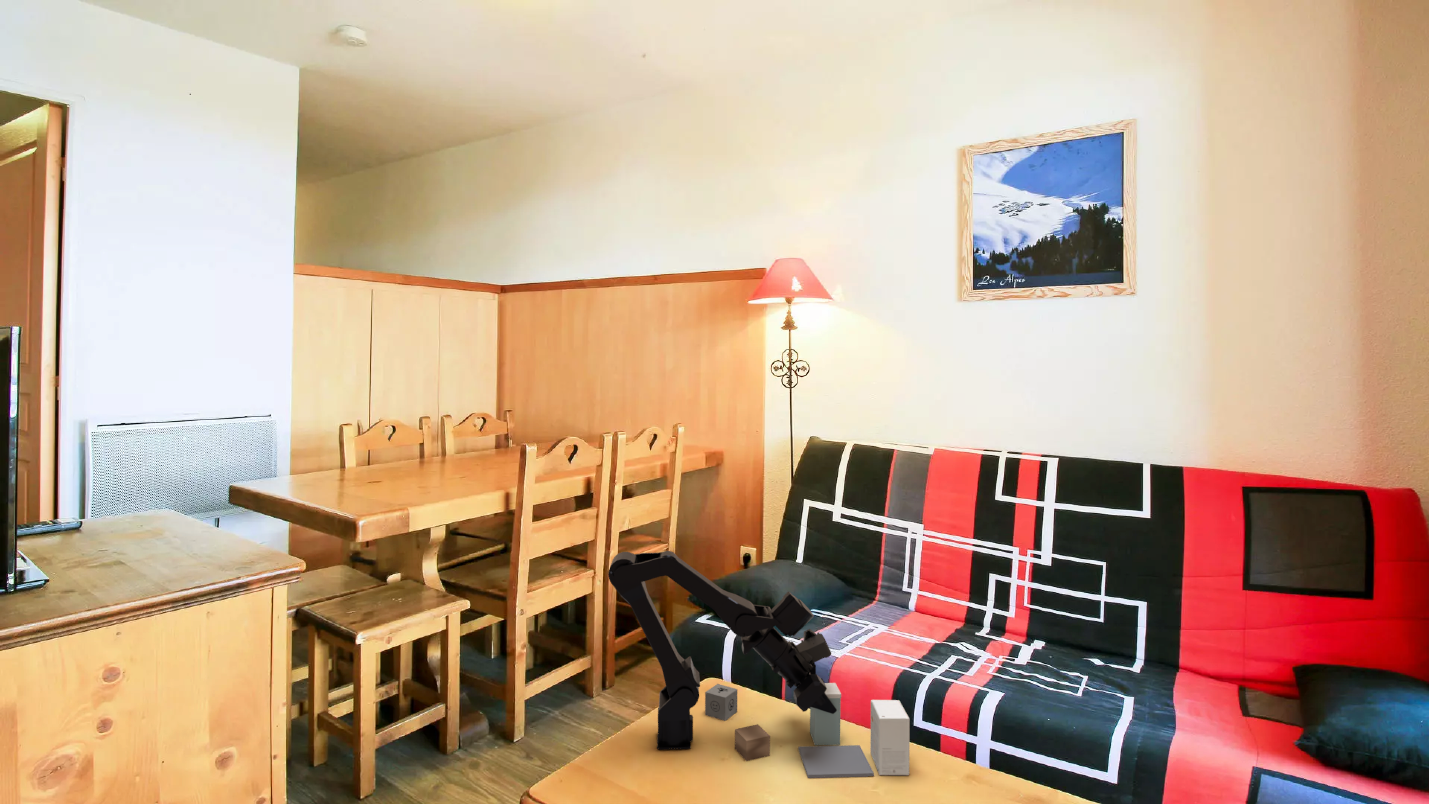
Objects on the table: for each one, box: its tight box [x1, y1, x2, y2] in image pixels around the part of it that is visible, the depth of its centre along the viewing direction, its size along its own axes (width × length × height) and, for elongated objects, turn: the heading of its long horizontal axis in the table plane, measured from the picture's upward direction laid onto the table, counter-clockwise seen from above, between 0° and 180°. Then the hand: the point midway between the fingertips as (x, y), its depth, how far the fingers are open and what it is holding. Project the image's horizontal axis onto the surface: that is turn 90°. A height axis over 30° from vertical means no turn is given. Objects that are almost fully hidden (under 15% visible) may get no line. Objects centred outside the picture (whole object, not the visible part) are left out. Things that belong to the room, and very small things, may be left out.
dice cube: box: [704, 683, 738, 722], centre depth 154 cm, size 5×5×5 cm
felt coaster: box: [797, 744, 875, 779], centre depth 134 cm, size 12×10×1 cm
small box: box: [870, 699, 911, 776], centre depth 134 cm, size 8×6×10 cm
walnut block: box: [734, 723, 771, 762], centre depth 138 cm, size 5×5×4 cm
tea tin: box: [809, 682, 842, 746], centre depth 143 cm, size 5×5×10 cm
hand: (832, 705), depth 143 cm, fingers closed on tea tin, 5 cm apart
